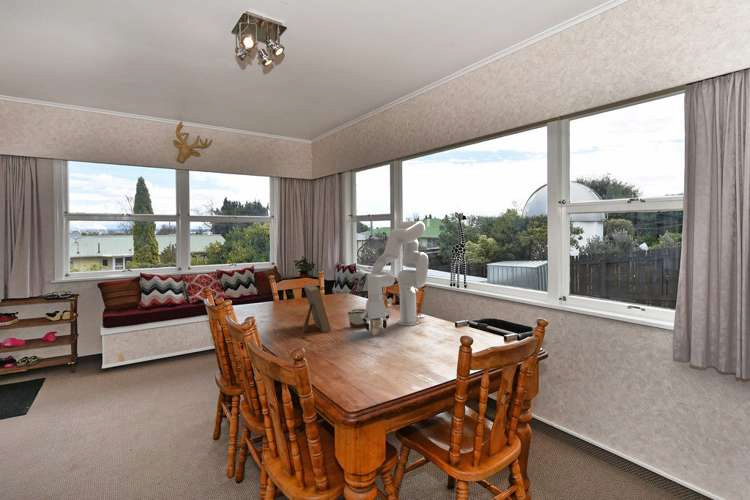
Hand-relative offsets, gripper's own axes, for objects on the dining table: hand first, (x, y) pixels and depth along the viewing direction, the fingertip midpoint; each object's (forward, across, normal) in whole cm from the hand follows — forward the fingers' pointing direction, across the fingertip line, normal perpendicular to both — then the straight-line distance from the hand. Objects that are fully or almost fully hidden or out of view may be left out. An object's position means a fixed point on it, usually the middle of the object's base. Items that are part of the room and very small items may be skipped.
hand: (376, 328), depth 206 cm
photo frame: (+3, +29, -26) cm, 39 cm away
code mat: (+3, +6, 0) cm, 7 cm away
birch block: (+3, 0, 0) cm, 3 cm away
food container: (+3, +4, -18) cm, 19 cm away
